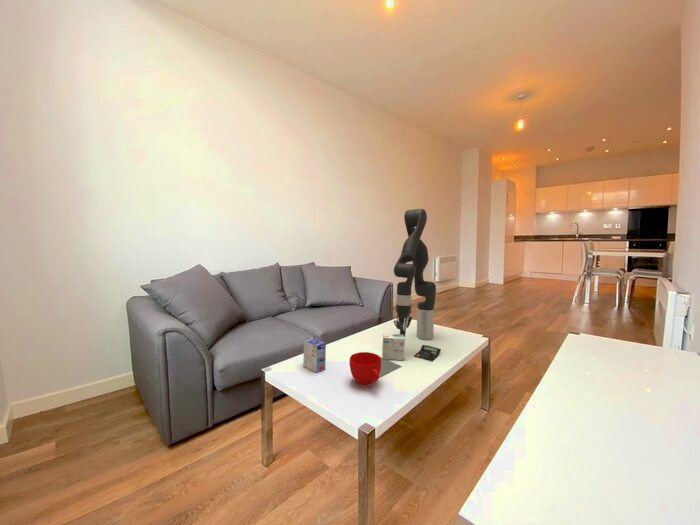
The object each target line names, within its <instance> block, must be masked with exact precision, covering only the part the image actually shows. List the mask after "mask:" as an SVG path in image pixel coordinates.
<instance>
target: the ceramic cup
mask: <svg viewBox="0 0 700 525" xmlns="http://www.w3.org/2000/svg"><path fill="white" fill-rule="evenodd" d="M381 358H382V357H381V356H380V355H378V354H376V353H374V352H370V351H369V352H368V351H360V352H355V353H353V354H351V355H350V357H349V363H350V364H349V369H350V373H351V376H352V378H353V379H354V380H355V382H356V383H357V384H358V385H360V386H363V387H367V386H371V385H373V383H375V382H378V380H379V379H380V378H379V373H380V369H381Z"/></svg>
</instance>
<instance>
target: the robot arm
mask: <svg viewBox="0 0 700 525" xmlns="http://www.w3.org/2000/svg"><path fill="white" fill-rule="evenodd" d="M403 217H404V218H403V219H404V225H405V228H406V234H407V238H406V240H405V241H404V242H403V245H402V248H401V249H402V250H401V252H400V256H399V258H398V259H397V261H396V263H395V265H394V266H393V267H394V268H393V274H394V276H395V277H397V278H402V279H404V278H405V279H406V280H404V281H400V282H397V285H396V297H395V299H396V300H395V313H397V316H396V320H393V324H394V326H395V327H396V329H397V330H399V334H404V337H405V338H406V334H407V333H406V330H407V328H408V329H409V327H410V325H411V322H412V320H413V316H411V315H410V314H412V286H413V281H414V291H415V294H416V295H417V296H419V297H422V298H423V297H424V298H425V300H424V301H420V302H418V303H417V307H416V308H417V310H416V311H417V312H416V313H417V314H416V338H417V339H419V340H423V341H427V340H432V339H433V337H434V330H435V328H434V323H435V322H434V315H435V314H434V313H435V311H434V310H435V309H434V308H435V304H436V296H437V286H436V284H435V282H433V281H427V280H424V272H425V270H426V267H427V265H428V262H429V260H430V259H429V258H430V257H429V252H428V247H427V245H426V244H425V243H424V241H423V240H422V239H421V237H422V235H423V232H424V229H425V227H426V224H427V221H428V220H427V219H428V214H427V212H426V210H425V209H424V208H416V209H415V208H414V209H408V210H406V211H405V212H404V215H403ZM411 262H412V263H411Z"/></svg>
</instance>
